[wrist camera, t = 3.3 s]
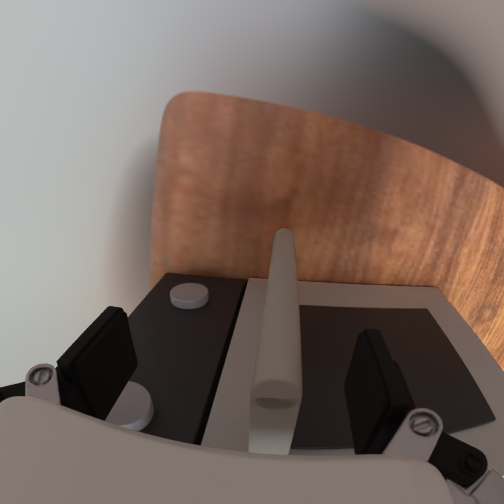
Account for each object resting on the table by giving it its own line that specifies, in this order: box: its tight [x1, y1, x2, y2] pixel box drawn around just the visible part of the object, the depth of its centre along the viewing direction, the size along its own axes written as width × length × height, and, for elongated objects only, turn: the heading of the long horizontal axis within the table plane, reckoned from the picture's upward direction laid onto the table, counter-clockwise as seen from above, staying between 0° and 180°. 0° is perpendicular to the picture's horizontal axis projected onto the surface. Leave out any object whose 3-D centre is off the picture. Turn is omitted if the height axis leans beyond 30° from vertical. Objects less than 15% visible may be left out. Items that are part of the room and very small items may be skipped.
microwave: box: [105, 274, 245, 446], centre depth 21 cm, size 24×28×22 cm
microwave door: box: [201, 228, 504, 478], centre depth 16 cm, size 7×20×22 cm, turn 89°
